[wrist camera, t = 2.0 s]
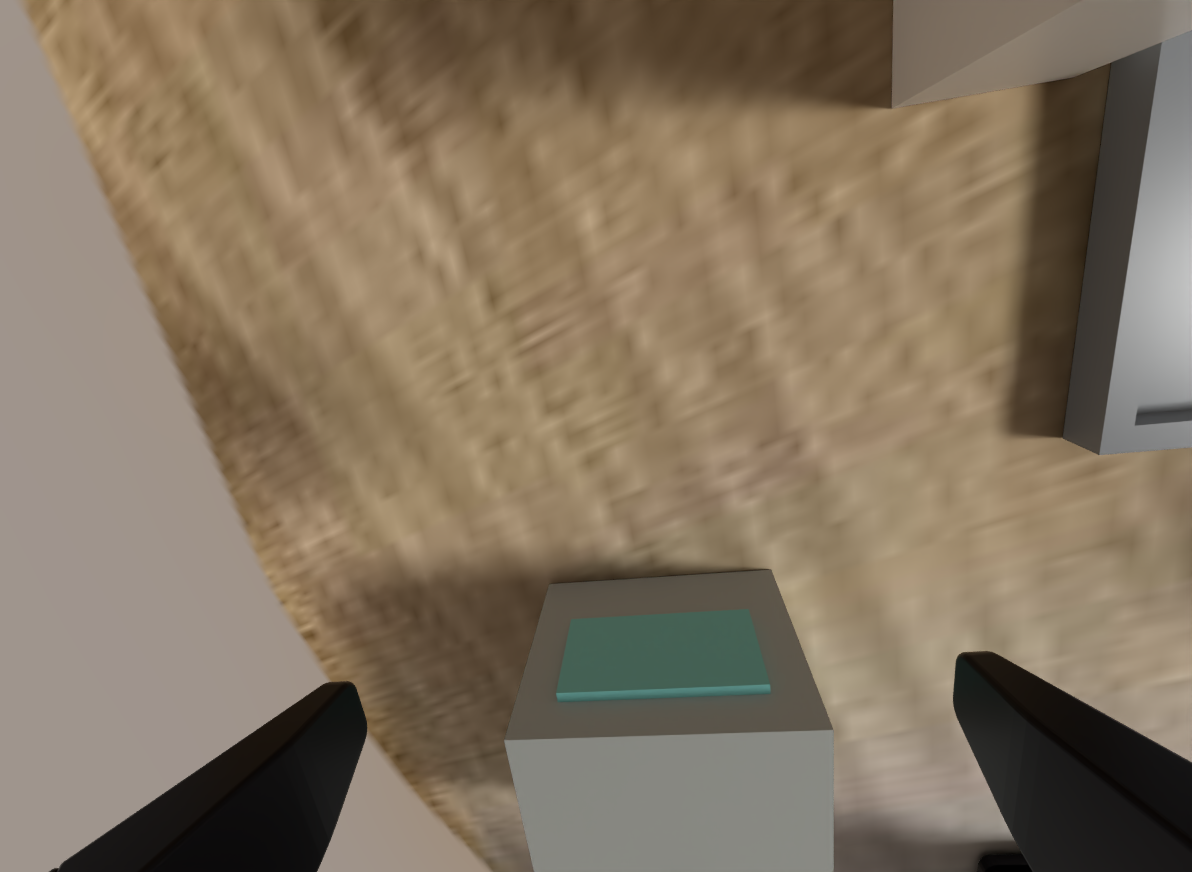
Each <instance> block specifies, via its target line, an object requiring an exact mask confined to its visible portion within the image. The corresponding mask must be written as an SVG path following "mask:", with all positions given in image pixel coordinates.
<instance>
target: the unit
mask: <svg viewBox="0 0 1192 872" xmlns="http://www.w3.org/2000/svg"><path fill="white" fill-rule="evenodd" d="M504 743H505V747H506V751H507V756H508V760H509V765H510V769H511V773H512V778H513V782H514V787H515V791H516V795H517V800H518V804H519V809H520V813H521V817H522V822H523V826H524V830H525V835H526V839H527V844H528V848H529V852H530V857H531V861H532V866H533V870H534V872H834V730H833V727H832V725H831V722H830V720H829V717H828V714H827V712H826V709H825V707H824V704H823V702H822V699H821V696H820V694H819V691H818V689H817V686H816V684H815V681H814V678H813V676H812V673H811V671H810V668H809V666H808V663H807V660H806V658H805V655H804V653H803V650H802V648H801V645H800V642H799V640H798V637H797V635H796V632H795V630H794V627H793V624H792V622H791V619H790V617H789V614H788V612H787V609H786V606H785V604H784V601H783V599H782V596H781V594H780V591H779V588H778V586H777V583H776V581H775V578H774V576H773V573H772V570H758V571H743V572H727V573H712V574H697V575H681V576H666V577H651V578H635V579H620V580H605V581H590V582H574V583H559V584H549V587H548V590H547V594H546V597H545V601H544V604H543V608H542V611H541V615H540V618H539V621H538V625H537V628H536V632H535V635H534V639H533V642H532V646H531V649H530V652H529V656H528V659H527V663H526V666H525V670H524V673H523V677H522V680H521V683H520V687H519V690H518V694H517V697H516V701H515V704H514V708H513V711H512V715H511V718H510V721H509V725H508V728H507V732H506V735H505V739H504Z"/></svg>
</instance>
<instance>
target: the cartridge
mask: <svg viewBox="0 0 1192 872" xmlns="http://www.w3.org/2000/svg"><path fill="white" fill-rule="evenodd" d="M1191 30H1192V0H893V54H892V109H893V108H898V107H904V106H910V105H916V104H922V103H928V102H933V101H939V100H945V99H951V98H957V97H963V96H968V95H974V94H980V93H986V92H992V91H998V90H1003V89H1009V88H1015V87H1021V86H1027V85H1033V84H1038V83H1044V82H1050V81H1056V80H1062V79H1068V78H1073V77H1076V76H1078V75H1081V74H1083V73H1086V72H1088V71H1091V70H1093V69H1096V68H1098V67H1101V66H1103V65H1106V64H1108V63H1111V62H1113V61H1116V60H1118V59H1121V58H1123V57H1126V56H1128V55H1131V54H1133V53H1136V52H1138V51H1141V50H1143V49H1146V48H1148V47H1151V46H1153V45H1156V44H1158V43H1161V42H1163V41H1166V40H1168V39H1171V38H1173V37H1176V36H1178V35H1181V34H1183V33H1186V32H1188V31H1191Z"/></svg>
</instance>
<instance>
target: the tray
mask: <svg viewBox="0 0 1192 872" xmlns="http://www.w3.org/2000/svg"><path fill="white" fill-rule="evenodd" d="M1063 439H1065V440H1067V441H1070V442H1072V443H1074V444H1076V445H1078V446H1081V447H1083V448H1085V449H1087V450H1089V451H1092V452H1094V453H1096V454H1098V455H1105V454H1117V453H1129V452H1141V451H1153V450H1165V449H1177V448H1189V447H1192V30H1191V31H1188V32H1186V33H1183V34H1181V35H1178V36H1176V37H1173V38H1171V39H1168V40H1166V41H1163V42H1161V43H1158V44H1156V45H1153V46H1151V47H1148V48H1146V49H1143V50H1141V51H1138V52H1136V53H1133V54H1131V55H1128V56H1126V57H1123V58H1121V59H1118V60H1116V61H1113V62H1111V70H1110V78H1109V85H1108V93H1107V101H1106V108H1105V116H1104V124H1103V132H1102V139H1101V147H1100V155H1099V162H1098V170H1097V178H1096V186H1095V193H1094V201H1093V209H1092V216H1091V224H1090V232H1089V240H1088V247H1087V255H1086V263H1085V270H1084V278H1083V286H1082V294H1081V301H1080V309H1079V317H1078V324H1077V332H1076V340H1075V347H1074V355H1073V363H1072V371H1071V378H1070V386H1069V394H1068V401H1067V409H1066V417H1065V425H1064V432H1063Z"/></svg>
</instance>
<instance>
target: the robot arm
mask: <svg viewBox="0 0 1192 872" xmlns="http://www.w3.org/2000/svg"><path fill="white" fill-rule="evenodd" d="M953 705H954V710H955V713H956V716H957V719H958V721H959V723H960V725H961V728H962V730H963V732H964V734H965V736H966V738H967V740H968V743H969V745H970V747H971V749H972V751H973V753H974V756H975V758H976V760H977V762H978V764H979V766H980V768H981V771H982V773H983V775H984V777H985V779H986V781H987V784H988V786H989V788H990V790H991V792H992V794H993V796H994V799H995V801H996V803H997V805H998V807H999V809H1000V812H1001V814H1002V816H1003V818H1004V820H1005V822H1006V824H1007V826H1008V828H1009V830H1010V832H1011V834H1012V836H1013V838H1014V840H1015V841H1016V843H1017V845H1018V847H1019V849H1020V850H1021V852H1022V854H1008V855H987V856H985V857H983V858H981V859H980V861H979V863H978V871H977V872H1192V762H1190V761H1188V760H1187V759H1185V758H1183V757H1181V756H1179V755H1178V754H1176V753H1174V752H1172V751H1170V750H1169V749H1167V748H1165V747H1163V746H1161V745H1160V744H1158V743H1156V742H1154V741H1152V740H1151V739H1149V738H1147V737H1145V736H1143V735H1142V734H1140V733H1138V732H1136V731H1134V730H1133V729H1131V728H1129V727H1127V726H1125V725H1124V724H1122V723H1120V722H1118V721H1116V720H1115V719H1113V718H1111V717H1109V716H1107V715H1106V714H1104V713H1102V712H1100V711H1098V710H1097V709H1095V708H1093V707H1091V706H1089V705H1088V704H1086V703H1084V702H1082V701H1080V700H1079V699H1077V698H1075V697H1073V696H1071V695H1070V694H1068V693H1066V692H1064V691H1062V690H1061V689H1059V688H1057V687H1055V686H1053V685H1052V684H1050V683H1048V682H1046V681H1044V680H1043V679H1041V678H1039V677H1037V676H1035V675H1034V674H1032V673H1030V672H1028V671H1026V670H1025V669H1023V668H1021V667H1019V666H1017V665H1016V664H1014V663H1012V662H1010V661H1008V660H1007V659H1005V658H1003V657H1001V656H999V655H998V654H995V653H993V652H990V651H979V652H963V653H961V654H959V655H958V657H957V659H956V666H955V679H954V692H953ZM366 735H367V720H366V717H365V714H364V711H363V708H362V704H361V701H360V698H359V695H358V692H357V689H356V687H355V685H354V684H353V683H352V682H349V681H343V682H328V683H325V684H323V685H322V686H320V687H319V688H317V689H316V690H314V691H313V692H311V693H310V694H309V695H307V696H305V697H304V698H303V699H301V700H300V701H298V702H297V703H295V704H294V705H292V706H291V707H289V708H288V709H286V710H285V711H284V712H282V713H281V714H279V715H278V716H276V717H275V718H273V719H272V720H270V721H269V722H267V723H266V724H264V725H263V726H262V727H260V728H259V729H257V730H256V731H254V732H253V733H251V734H250V735H248V736H247V737H245V738H244V739H243V740H241V741H240V742H238V743H237V744H235V745H234V746H232V747H231V748H229V749H228V750H226V751H225V752H224V753H222V754H221V755H219V756H218V757H216V758H215V759H213V760H212V761H210V762H209V763H207V764H206V765H205V766H203V767H202V768H200V769H199V770H197V771H196V772H194V773H193V774H191V775H190V776H188V777H187V778H186V779H184V780H183V781H181V782H180V783H178V784H177V785H175V786H174V787H172V788H171V789H169V790H168V791H167V792H165V793H164V794H162V795H161V796H159V797H158V798H156V799H155V800H154V801H152V802H151V803H149V804H148V805H146V806H145V807H143V808H142V809H140V810H139V811H137V812H136V813H134V814H133V815H131V816H130V817H129V818H127V819H126V820H124V821H123V822H121V823H120V824H118V825H117V826H115V827H114V828H112V829H111V830H110V831H108V832H107V833H105V834H104V835H102V836H101V837H100V838H98V839H97V840H95V841H94V842H92V843H91V844H89V845H88V846H86V847H85V848H84V849H82V850H80V851H79V852H77V853H76V854H74V855H73V856H71V857H70V858H69V859H67V860H66V861H64V862H63V863H62V864H61V865H60V867H59V868H54V869H52V870H51V871H50V872H317V871H318V868H319V866H320V864H321V862H322V859H323V857H324V854H325V852H326V850H327V847H328V845H329V842H330V840H331V837H332V835H333V832H334V829H335V827H336V824H337V821H338V818H339V815H340V812H341V809H342V807H343V804H344V801H345V798H346V795H347V792H348V789H349V786H350V783H351V780H352V777H353V774H354V772H355V768H356V765H357V763H358V760H359V757H360V754H361V751H362V748H363V745H364V742H365V739H366Z"/></svg>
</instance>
